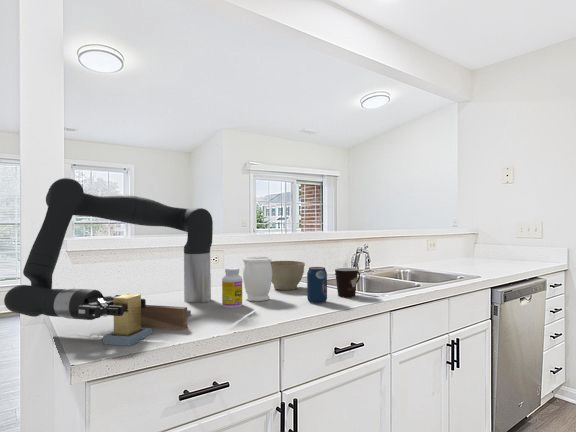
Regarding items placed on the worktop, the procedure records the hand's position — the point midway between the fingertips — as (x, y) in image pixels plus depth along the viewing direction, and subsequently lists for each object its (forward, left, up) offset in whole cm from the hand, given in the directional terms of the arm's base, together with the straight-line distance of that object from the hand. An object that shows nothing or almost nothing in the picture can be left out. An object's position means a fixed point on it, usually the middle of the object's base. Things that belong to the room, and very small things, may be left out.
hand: (134, 307), depth 97 cm
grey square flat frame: (-20, -2, -8) cm, 22 cm away
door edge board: (-10, -2, -8) cm, 13 cm away
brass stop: (0, -2, -7) cm, 8 cm away
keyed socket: (0, -2, -8) cm, 8 cm away
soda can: (-53, +35, -8) cm, 64 cm away
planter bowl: (-77, +17, -8) cm, 79 cm away
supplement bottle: (-39, +9, -8) cm, 41 cm away
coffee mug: (-67, +45, -8) cm, 81 cm away
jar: (-53, +13, -8) cm, 55 cm away
